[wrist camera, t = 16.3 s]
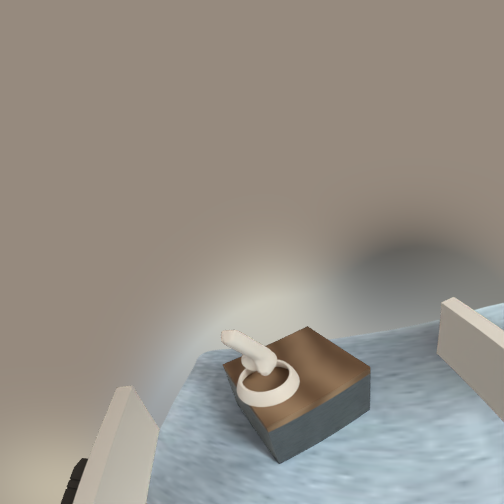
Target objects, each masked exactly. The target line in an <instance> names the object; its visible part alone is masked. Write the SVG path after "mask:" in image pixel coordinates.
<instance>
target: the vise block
mask: <svg viewBox="0 0 504 504" xmlns="http://www.w3.org/2000/svg"><path fill="white" fill-rule="evenodd" d="M265 347H267V348H269V349H270V350H271V351H272V352H274V353H275V355H276V356H277V360H282V361H284V362H286V363H288V364H289V365H290V366H292V367H293V369H294V370H295V371H296V372H297V374H298V376H299V380H300V383H299V387H298V389H297V391H296V392H295V393H294V394H293V395H292V396H291V397H290V398H289V399H287V400H286V401H284V402H282V403H280V404H277V405H273V406H269V407H255V406H250V405H248V404H246V403H244V402H243V401H241V399H240V398H239V397H238V395H237V383H238V379H239V377H240V375H241V373H242V372H243V370H244V369H246V368H245V367H244V366H243V364H242V362H241V358H242V357H239V358H237V359H235V360H232V361H230V362H227V363H225V364H223V366H224V369H225V372H226V375H227V377H228V380H229V383H230V385H231V388H232V391H233V393H234V396H235V399H236V401H237V403H238V405H239V407H240V408H241V410H242V411H243V413H244V414H245V416H246V417H247V419H248V420H249V422H250V423H251V425H252V426H253V428H254V429H255V431H256V432H257V433H258V435H259V436H260V438H261V439H262V441H263V442H264V443H265V445H266V446H267V448H268V449H269V450H270V452H271V453H272V455H273V456H274V457H275V459H276V460H277V461H278V463H279V464H280V463H282V462H284V461H286V460H288V459H290V458H292V457H294V456H296V455H298V454H299V453H301V452H303V451H305V450H307V449H308V448H310V447H312V446H314V445H315V444H317V443H319V442H321V441H322V440H324V439H326V438H327V437H329V436H331V435H332V434H334V433H335V432H337V431H339V430H340V429H342V428H343V427H345V426H346V425H348V424H349V423H351V422H352V421H354V420H355V419H357V418H358V417H360V416H361V415H363V414H364V413H365V412H367V411H368V410H370V367H369V366H368V365H366V364H365V363H363V362H362V361H360V360H358V359H357V358H355V357H354V356H352V355H351V354H349V353H348V352H346V351H344V350H343V349H341V348H340V347H338V346H337V345H335V344H334V343H332V342H331V341H329V340H328V339H326V338H324V337H323V336H321V335H320V334H318V333H317V332H315V331H313V330H312V329H311V328H309V327H308V326H307V327H305V328H303V329H301V330H299V331H297V332H295V333H293V334H291V335H288V336H286V337H284V338H282V339H280V340H278V341H276V342H274V343H271V344H269V345H267V346H265ZM288 376H289V370H288V369H286V368H282V367H274V369H273V371H272V372H271V373H270V374H269V375H267V376H263V375H261V374H260V373H258V371H255V372H253V373H251V374H250V375H248V376H247V377H246V378H245V379H244V380H243V382H242V383H243V385H244V386H245V387H246V388H247V389H249V390H251V391H255V392H265V391H270V390H273V389H276V388H277V387H279V386H281V385H282V384H283V383H284V382H285V381H286V380H287V378H288Z"/></svg>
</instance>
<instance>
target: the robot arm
mask: <svg viewBox="0 0 504 504" xmlns="http://www.w3.org/2000/svg"><path fill="white" fill-rule="evenodd" d="M437 354H438V355H439V356H440V357H441V358H442V359H443V360H444V361H445V362H446V363H447V364H448V365H449V366H450V367H451V368H452V369H453V370H454V371H455V372H456V373H457V374H458V375H459V376H460V377H461V378H462V379H463V380H464V381H465V382H466V383H467V384H468V385H469V386H470V387H471V388H472V389H473V390H474V391H475V392H476V393H477V394H478V395H479V396H480V397H481V398H482V399H483V400H484V401H485V402H486V403H487V405H488V406H489V407H490V408H491V409H492V410H493V411H494V412H495V413H496V414H497V415H498V416H499V417H500V418H501V420H502V421H503V422H504V331H503V330H502V329H500V328H499V327H498V326H496V325H495V324H493V323H492V322H490V321H489V320H488V319H486V318H485V317H483V316H482V315H480V314H479V313H477V312H476V311H474V310H473V309H471V308H470V307H468V306H467V305H465V304H464V303H462V302H461V301H459V300H458V299H456V298H454V297H453V298H451V299H448V300H446V301H444V302H442V303H441V317H440V327H439V337H438V346H437ZM159 430H160V429H159V428H158V426H157V424H156V423H155V421H154V420H153V418H152V417H151V415H150V414H149V412H148V410H147V409H146V407H145V405H144V404H143V402H142V401H141V399H140V397H139V396H138V394H137V392H136V390H135V389H134V387H133V386H125V387H117V389H116V391H115V393H114V396H113V398H112V401H111V403H110V406H109V408H108V410H107V413H106V415H105V417H104V420H103V422H102V425H101V427H100V430H99V432H98V435H97V437H96V440H95V442H94V445H93V448H92V450H91V453H90V456H89V458H88V459H86V458H82V459H81V460H80V461H79V462H78V463H77V465H76V466H75V467H74V469H73V472H72V474H71V477H70V479H71V480H69V482H68V485H67V489H66V491H65V493H64V496H63V499H62V502H61V504H146V501H147V494H148V489H149V483H150V477H151V471H152V466H153V461H154V455H155V450H156V445H157V440H158V435H159Z"/></svg>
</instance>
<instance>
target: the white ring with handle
mask: <svg viewBox="0 0 504 504" xmlns="http://www.w3.org/2000/svg"><path fill="white" fill-rule="evenodd" d="M221 340H222V342H223V343H224V344H225V345H226V346H228V347H230V348H232V349H234V350H236V351H237V352H239V353H241V354H243V355H242V358H241V362H242V364H243V366H244V367H245V368H246V369H244V370H243V372H242V373H241V375H240V377H239V379H238V383H237V395H238V397H239V398H240V399H241V401H243V402H244V403H246V404H248V405H250V406H255V407H269V406H273V405H277V404H280V403H282V402H284V401H286V400H287V399H289V398H290V397H291V396H292V395H293V394H294V393H295V392H296V391H297V389H298V387H299V383H300V380H299V376H298V374H297V372H296V371H295V370H294V369H293V367H292V366H290V365H289V364H288V363H286V362H284V361H282V360H277V356H276V355H275V353H274V352H272V351H271V350H270V349H269V348H267V347H265V346H264V345H262V344H260V343H258V342H257V341H255V340H253V339H252V338H250V337H248V336H247V335H245V334H243V333H242V332H240V331H237V330H225V331H222V332H221ZM274 367H282V368H286V369H288V370H289V376H288V378H287V380H286V381H285V382H284V383H283V384H282V385H281V386H279V387H277V388H276V389H273V390H270V391H265V392H255V391H251V390H249V389H247V388H246V387H245V386H244V385H243V383H242V382H243V380H244V379H245V378H246V377H247V376H248V375H250V374H251V373H253V372H255V371H258V373H260V374H261V375H263V376H267V375H269V374H270V373H271V372H272V371H273V369H274Z"/></svg>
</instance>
